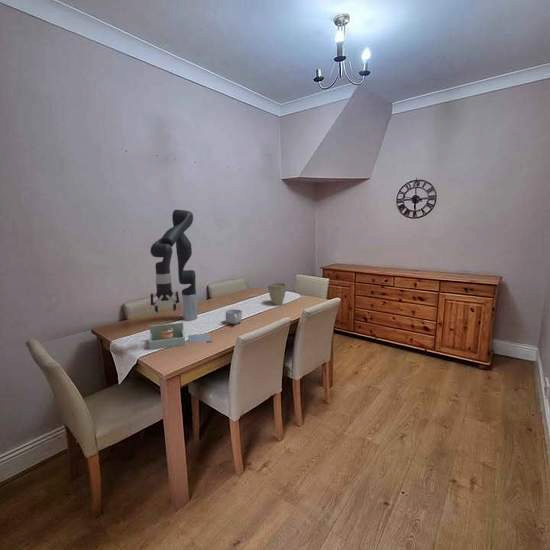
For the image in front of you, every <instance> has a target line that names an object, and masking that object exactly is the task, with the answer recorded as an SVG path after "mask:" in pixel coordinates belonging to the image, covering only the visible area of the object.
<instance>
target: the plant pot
mask: <svg viewBox="0 0 550 550" xmlns="http://www.w3.org/2000/svg"><path fill="white" fill-rule="evenodd" d="M267 289H268V293H269V297H270V300H271V303H272V305H274V306H281V305H282V304H283V303H284V300H285V295H286V293H287V292H286V290H287V283H286V282H285V283H284V282H270V283H268V284H267Z"/></svg>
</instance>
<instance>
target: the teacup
mask: <svg viewBox="0 0 550 550" xmlns="http://www.w3.org/2000/svg"><path fill="white" fill-rule="evenodd" d="M224 313H225V321H226V322H227V323H228V324H231V325H236V324H239V323H240V322H242V320H243V319H242V318H243V310H241V309H238V308H237V309H236V308H230V309H226V310H225V312H224Z"/></svg>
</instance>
